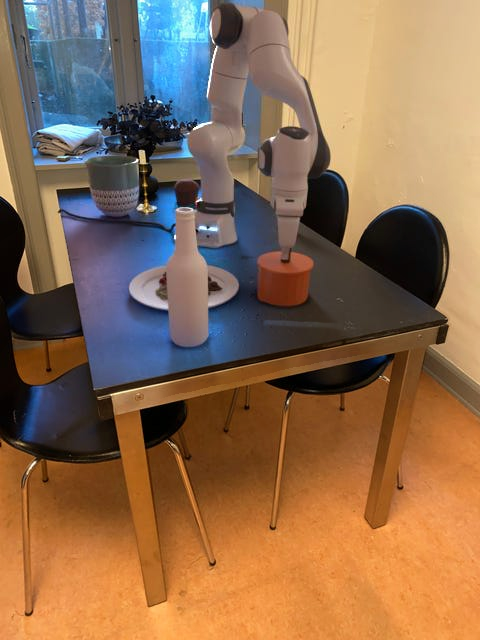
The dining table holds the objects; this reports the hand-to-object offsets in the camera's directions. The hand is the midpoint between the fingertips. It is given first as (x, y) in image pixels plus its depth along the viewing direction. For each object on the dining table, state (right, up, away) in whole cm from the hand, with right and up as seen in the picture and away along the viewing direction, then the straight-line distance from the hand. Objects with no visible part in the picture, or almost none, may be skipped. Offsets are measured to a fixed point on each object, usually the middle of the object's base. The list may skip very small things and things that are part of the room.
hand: (283, 251), depth 121 cm
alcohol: (-23, -22, -14) cm, 35 cm away
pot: (0, -11, +6) cm, 13 cm away
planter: (-61, +25, +68) cm, 95 cm away
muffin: (-35, +34, +86) cm, 99 cm away
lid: (0, -3, +2) cm, 3 cm away
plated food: (-27, -10, +8) cm, 30 cm away
